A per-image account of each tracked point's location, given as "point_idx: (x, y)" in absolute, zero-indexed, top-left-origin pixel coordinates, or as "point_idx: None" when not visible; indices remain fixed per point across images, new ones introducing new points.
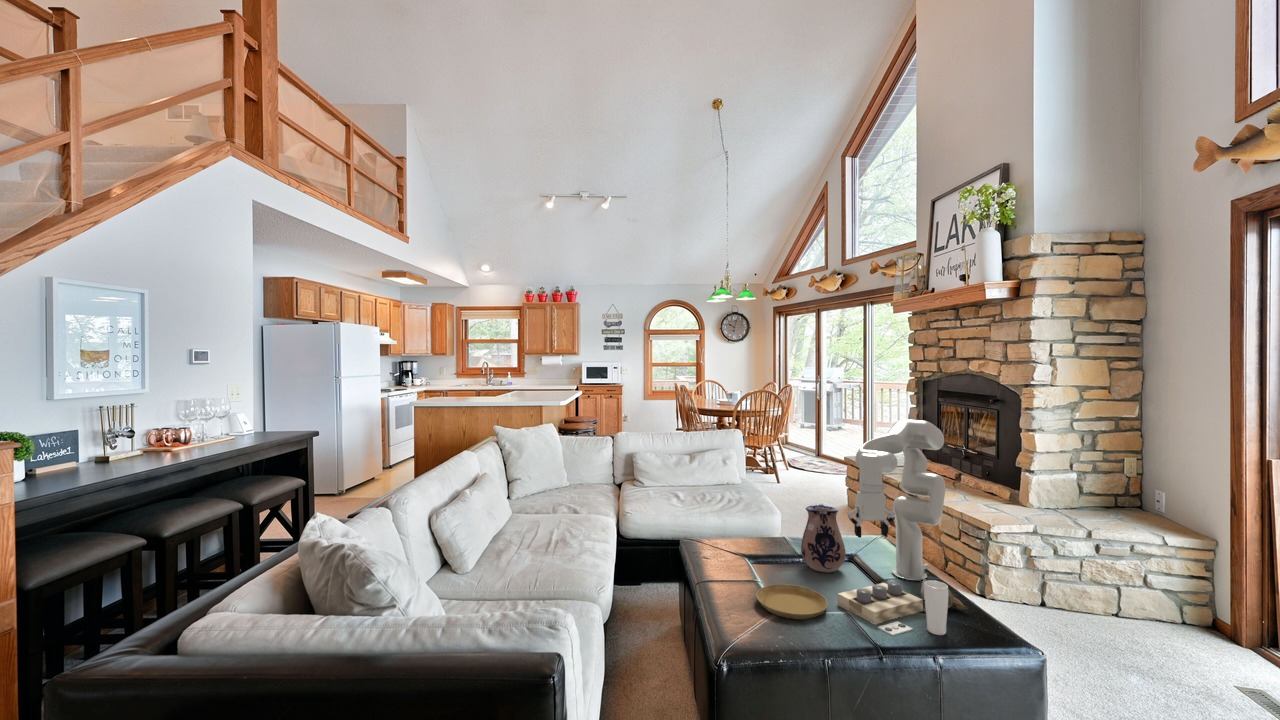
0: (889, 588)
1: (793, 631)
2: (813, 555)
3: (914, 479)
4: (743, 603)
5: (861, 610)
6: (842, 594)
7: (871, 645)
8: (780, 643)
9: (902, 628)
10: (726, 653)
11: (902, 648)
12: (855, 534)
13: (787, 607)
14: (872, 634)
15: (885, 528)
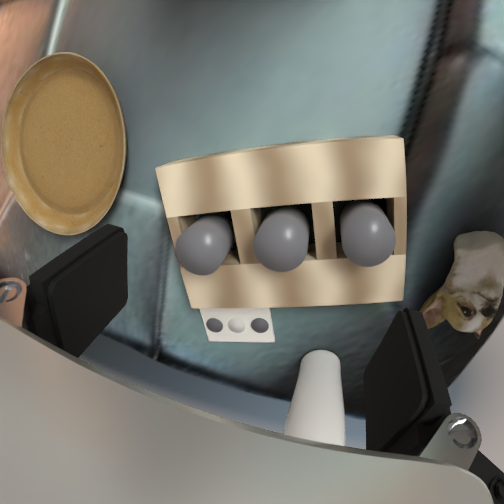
0: (341, 234)
1: (43, 249)
2: None
3: None
4: (3, 114)
5: None
6: (166, 179)
7: (148, 342)
8: (25, 273)
9: (251, 333)
10: None
11: (197, 370)
12: (108, 225)
13: (51, 154)
14: (171, 318)
15: (367, 440)
